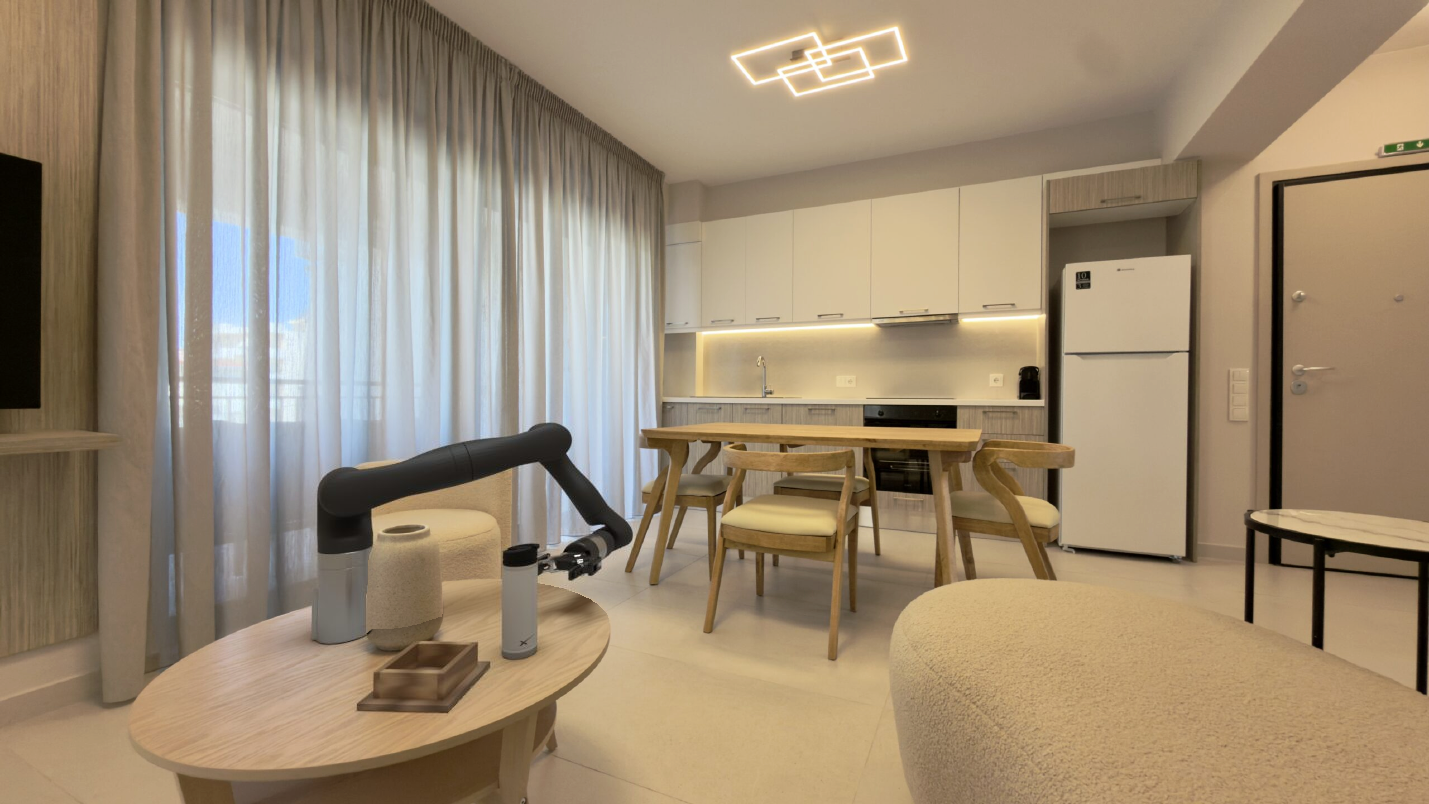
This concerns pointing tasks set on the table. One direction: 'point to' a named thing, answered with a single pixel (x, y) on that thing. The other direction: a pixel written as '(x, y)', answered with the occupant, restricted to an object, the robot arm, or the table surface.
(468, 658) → the mug holder
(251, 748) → the table surface
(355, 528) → the robot arm
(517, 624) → the travel mug
